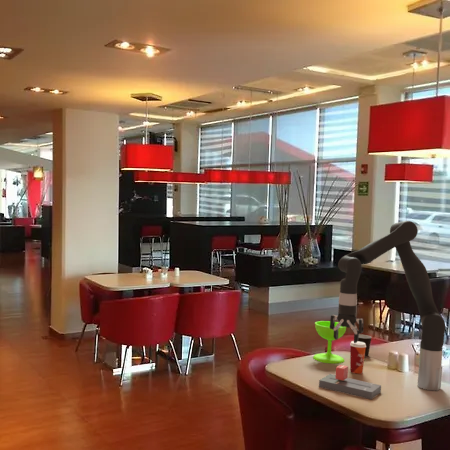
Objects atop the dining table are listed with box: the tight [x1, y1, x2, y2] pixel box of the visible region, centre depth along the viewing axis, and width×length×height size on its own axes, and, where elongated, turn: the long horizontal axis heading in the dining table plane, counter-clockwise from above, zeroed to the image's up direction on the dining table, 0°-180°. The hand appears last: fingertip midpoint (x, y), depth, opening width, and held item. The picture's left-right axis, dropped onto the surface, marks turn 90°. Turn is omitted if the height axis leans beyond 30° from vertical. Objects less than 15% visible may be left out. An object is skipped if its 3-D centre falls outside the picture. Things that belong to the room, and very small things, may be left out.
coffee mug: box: [358, 334, 372, 358], centre depth 296 cm, size 12×9×10 cm
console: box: [318, 373, 382, 400], centre depth 237 cm, size 23×12×3 cm, turn 57°
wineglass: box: [312, 320, 347, 365], centre depth 285 cm, size 16×16×18 cm
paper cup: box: [349, 340, 366, 375], centre depth 264 cm, size 8×8×14 cm
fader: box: [335, 364, 349, 380], centre depth 239 cm, size 4×5×6 cm
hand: (345, 340), depth 239 cm, fingers open, 8 cm apart
